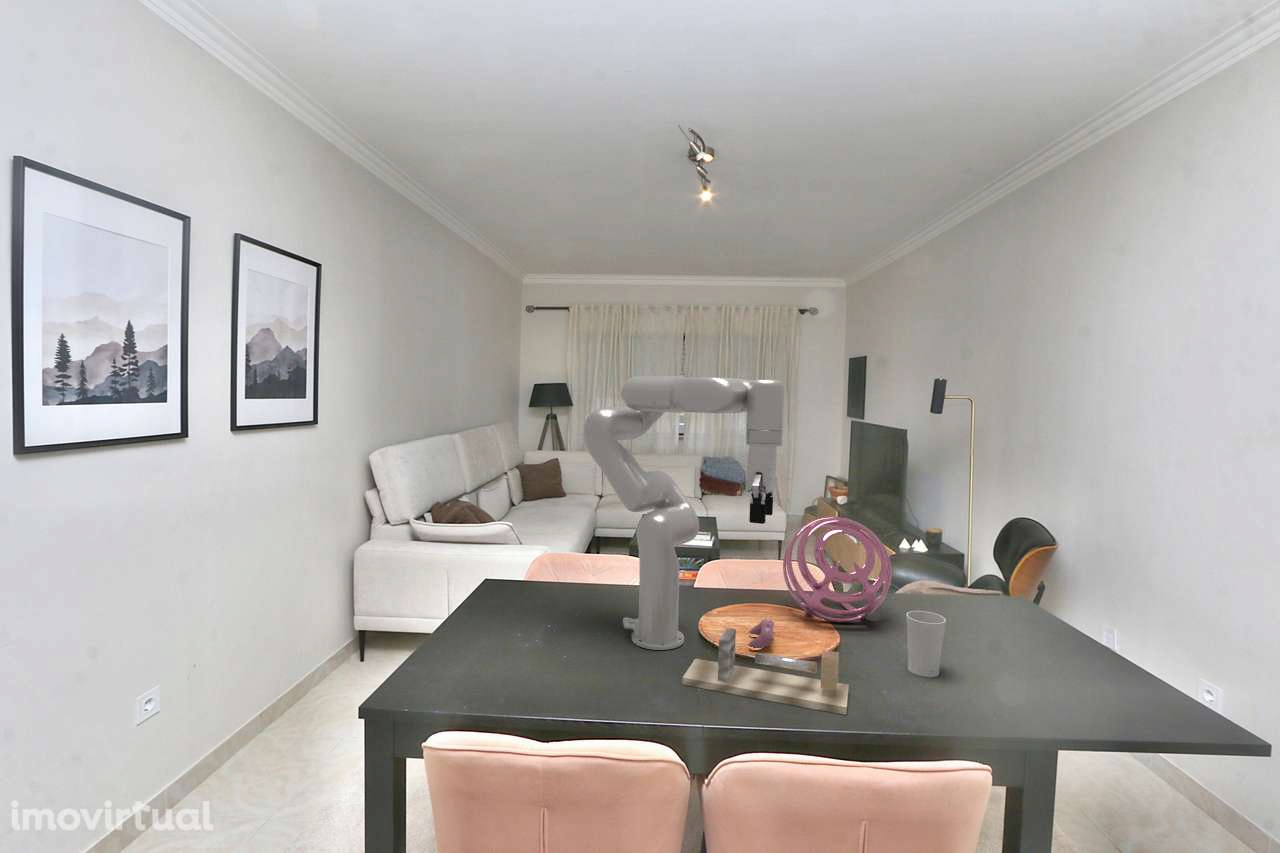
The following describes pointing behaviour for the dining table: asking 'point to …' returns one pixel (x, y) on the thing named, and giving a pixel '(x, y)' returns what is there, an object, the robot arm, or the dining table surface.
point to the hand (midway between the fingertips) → (761, 518)
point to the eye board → (762, 681)
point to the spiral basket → (833, 574)
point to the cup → (924, 642)
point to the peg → (807, 666)
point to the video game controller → (762, 634)
